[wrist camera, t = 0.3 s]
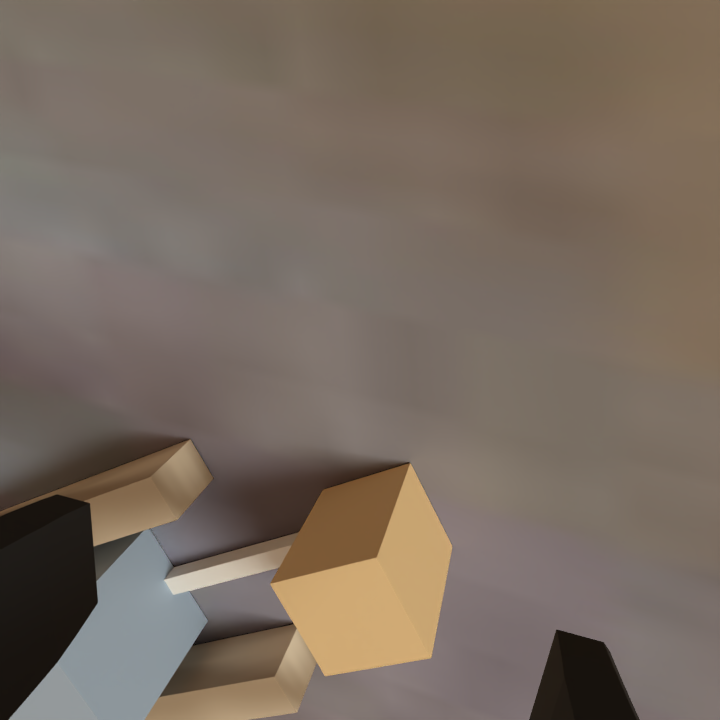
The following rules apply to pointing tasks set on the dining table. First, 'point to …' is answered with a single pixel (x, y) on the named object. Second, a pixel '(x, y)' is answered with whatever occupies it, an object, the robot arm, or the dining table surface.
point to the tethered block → (291, 584)
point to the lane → (208, 660)
